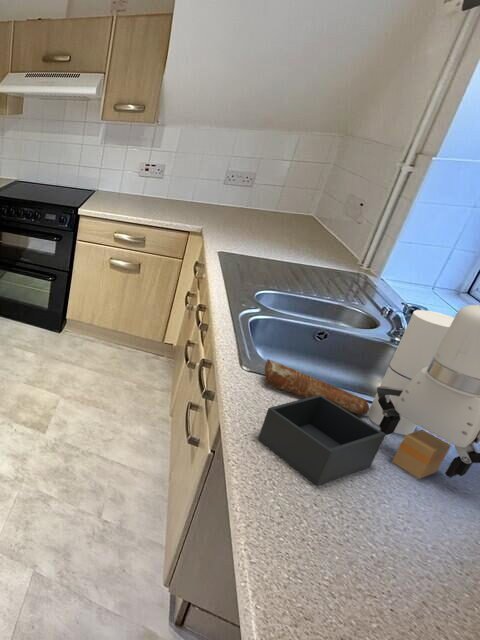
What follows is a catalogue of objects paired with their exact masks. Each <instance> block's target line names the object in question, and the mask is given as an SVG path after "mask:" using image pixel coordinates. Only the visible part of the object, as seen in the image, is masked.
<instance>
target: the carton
mask: <svg viewBox="0 0 480 640" xmlns="http://www.w3.org/2000/svg"><path fill="white" fill-rule="evenodd" d="M451 447H452V444H451V443H449V442H447V441H445V440H443V439H442V438H440V437H438V436H436V435H435V434H433V433H431V432H429V431H427V430H426V429H424V428H421V429H419V430H416V431H414V432H413V433H410V434H407V435H404V438H403V439H402V441H401V443H400V445H399V446H398V449H397V451H396V452H395V455H394V457H393V458H392V463H393V464H394V465H396V466H398V467H399V468H400V469H402V470H404V471H406V472H407V473H408V474H410V475H411V476H413V477H415V478H416V479H418V480H420V479H423V478H425V477H428V476H431V475H433V474H435V473H437V471H438V470H439V468H440V466H441V464H442V463H443V461H444V459H445V458H446V456H447V455H448V452H449V450H450V448H451Z"/></svg>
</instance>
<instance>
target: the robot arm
mask: <svg viewBox="0 0 480 640" xmlns="http://www.w3.org/2000/svg"><path fill="white" fill-rule="evenodd" d="M376 394H378V397H379V399H378V402H379V404H380V406H381V408H382V410H383V411H382V414H383V415H384V417H383V419H382V421H381V423H380V425H378V427H379V428H380V429H379V430H380V431H381V432H383V433H385V434H386V435H385V436H388V435H391V434H393V433H394V430H395V428H396V426H397V425H398V423H399V421H400V419H401V418H400V416H399V415H402V416H403V417H405V418H406V419H408V420H410V421H412V422H413V423H415V424H417V426H418V427H420V428H421V429H423V430H425V431H426V432H428V433H430V434H432V435H434V436H435V437H437V438H439V439H441V440H442V441H444V442H446V443H448V444H450V445H453V446H454V448H455V450H456V452H457V454H458V455H457V456H456V457H454V458H453V460H452V461H451V463H450V464H449V466H448V468H447V469H446V471H445V472H444V475H445V476H446V477H448V478H453V477H456V476H460V477H463V476H465V475H466V474H467V473H468V471H469V470H470V468H471V466H472V465H473V464H480V452H479V451H478V449H477V447H476V446H475V444H476V445H477V444H479V443H480V304H467V305H465V306H463V307H461V308H459V310H458V311H457V313H456V314H455V316H454V320H453V322H452V323H451V325H450V327H449V329H448V331H447V333H446V335H445V337H444V338H443V340H442V342H441V344H440V346H439V348H438V350H437V352H436V353H435V355H434V357H433V359H432V361H431V363H430V365H429V367H425V368H422V369H421V370H420V371H419V372H418V373H417V374H416V375H415V376H414V377H413V379H412V380H411V381H410V382H409V383H408V385H407V386H406V387H405V389H399V388H393V387H386V386H380V385H379V386H377V387H376ZM389 395H393V396H399V398H398V399H397V401H396V404H395V407H394V405H393V403H392V401H391V399H390V398H389V397H390V396H389Z"/></svg>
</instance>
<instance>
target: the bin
mask: <svg viewBox="0 0 480 640" xmlns="http://www.w3.org/2000/svg"><path fill="white" fill-rule="evenodd" d="M260 428H261V429H260V432H259V434H258V437H257V440H258V441H259V442H261V443H262V444H263V445H265V446H266V447H267V448H268V449H269V450H271V451H272V452H273V453H275V454H276V455H277V456H278V457H280V458H281V459H282V460H283V461H285V462H286V463H287V464H288V465H290V466H291V467H292V468H294V469H295V470H296V471H297V472H298V473H300V474H301V475H302V476H304V478H306V479H307V480H308V481H310V482H311V483H312V484H313V485H315V486H320V485H323V484H326V483H329V482H332V481H334V480H337V479H340V478H343V477H346V476H348V475H351V474H354V473H357V472H360V471H362V470H365V469H368V468H370V467H371V466H372V464H373V462H374V460H375V458H376V456H377V453H378V452H379V450H380V448H381V445H382V444H383V441H384V439H385V437H386V436H387V435H386V434H385V433H383V432H381V431H380V430H381V429H378V428H376V427H375V426H373V425H372V424H370V423H368V422H367V421H365V420H363V419H361V418H360V417H358V416H357V415H355V414H354V413H352V412H349V411H347V410H345V409H343V408H342V407H340V406H338V405H337V404H335V403H333V402H332V401H330V400H328V399H327V398H325V397H323V396H322V395H316V396H312V397H308V398H306V397H303V398H300V399H297V400H293V401H289V402H286V403H283V404H279V405H275V406H271V407H268V408H267V412H266V415H265V417H264V421H263V423H262V426H261V427H260Z"/></svg>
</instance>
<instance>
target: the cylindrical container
mask: <svg viewBox="0 0 480 640" xmlns="http://www.w3.org/2000/svg"><path fill="white" fill-rule="evenodd" d="M454 318H455V316H454V317H453V316H451V315H448V314H444V313H441V312H438V311H437V312H436V311H431V310H424V309H417V310H416V309H415V310H414V311H413V312H412V314H411V317H410V318H409V321H408V323H407V326H406V327H405V330H404V332H403V334H402V336H401V339H400V340H399V343H398V345H397V348H396V350H395V351H394V354H393V356H392V359H391V361H390V363H389V365H388V367H387V369H386V371H385V373H384V376H383V378H382V381H381V383H380V385H379V387H380V386H386V387H393V388H399V389H405V387H406V386H407V385H408V383H409V382H410V381H411V380H412V379H413V377H414V376H415V375H416V374H417V373H418V372H419V371H420V370H421V369H422V368H425V367H429V365H430V363H431V361H432V359H433V357H434V355H435V353H436V352H437V350H438V348H439V346H440V344H441V342H442V340H443V338H444V337H445V335H446V333H447V331H448V329H449V327H450V325H451V323H452V322H453V320H454ZM389 396H390V397H389V398H390V399H391V401H392V403H393V405H394V407H395V404H396V401H397V399H398V398H399V396H393V395H389ZM378 399H379V397H378V394H377V393H376V394H375V396H374V398H373V401H372V403H371V404H370V407H369V410H368V412H367V417H368V418H369V420H370V421H371V422H372V423H374V424H376V425H377V426H379V425H380V423H381V421H382V419H383V417H384V415H383V414H382V411H383V410H382V408H381V406H380V404H379V402H378ZM399 416H400V418H401V419H400V421H399V423H398V425H397V426H396V428H395V430H394V432H393V433H394V434H398V435H404V436H405V435H407V434H410V433H413V432H416V431H415V430H416V429H417V427H418V425H417V424H415V423H413V422H412V421H410V420H408V419H406V418H405V417H403V416H402V415H399Z"/></svg>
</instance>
